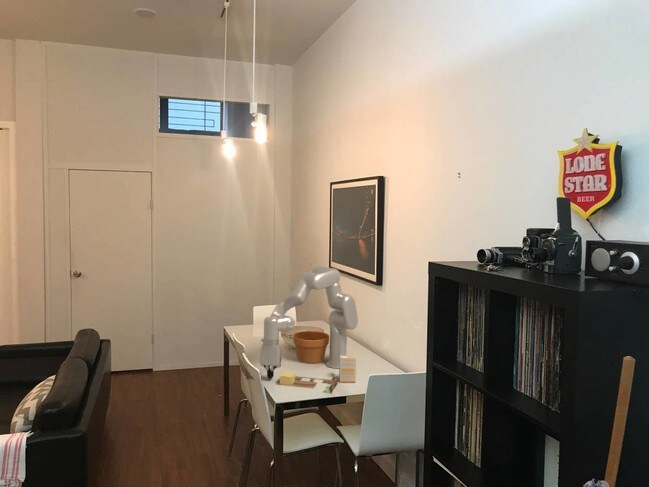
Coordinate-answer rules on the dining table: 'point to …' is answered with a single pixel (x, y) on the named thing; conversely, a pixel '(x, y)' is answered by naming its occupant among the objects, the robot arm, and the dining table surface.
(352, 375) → the supplement box
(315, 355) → the flower pot
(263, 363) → the robot arm
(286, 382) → the ochre block
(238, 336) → the dining table surface
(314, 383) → the trap board
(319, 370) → the dining table surface
